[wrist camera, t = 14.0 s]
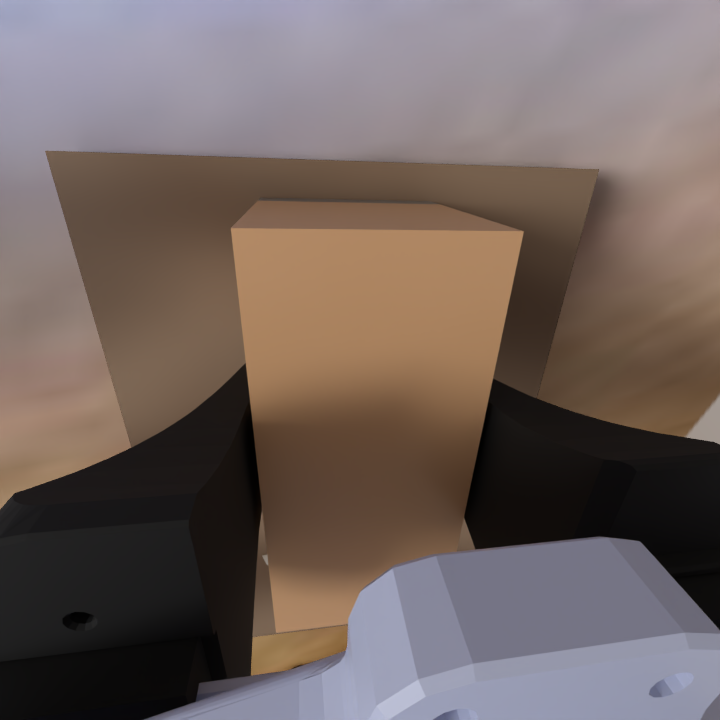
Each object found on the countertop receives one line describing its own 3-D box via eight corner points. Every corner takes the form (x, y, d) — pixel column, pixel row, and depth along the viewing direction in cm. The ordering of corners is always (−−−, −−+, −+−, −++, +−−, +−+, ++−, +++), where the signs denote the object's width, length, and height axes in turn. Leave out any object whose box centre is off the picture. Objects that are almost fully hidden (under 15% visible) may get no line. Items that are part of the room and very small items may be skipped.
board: (468, 580, 21) (479, 608, 20) (196, 612, 19) (188, 646, 18) (566, 168, 12) (599, 169, 11) (77, 151, 10) (44, 151, 9)
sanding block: (401, 480, 15) (443, 611, 11) (282, 489, 15) (276, 632, 10) (430, 201, 11) (523, 230, 6) (260, 197, 10) (230, 228, 6)
